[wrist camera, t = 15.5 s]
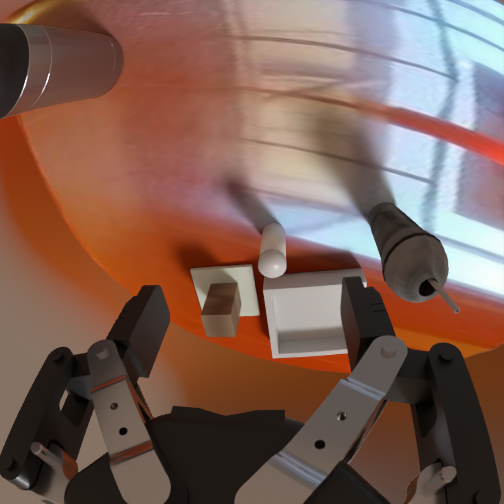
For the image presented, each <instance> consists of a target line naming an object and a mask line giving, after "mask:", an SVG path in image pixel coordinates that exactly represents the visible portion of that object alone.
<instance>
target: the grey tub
mask: <svg viewBox="0 0 504 504" xmlns="http://www.w3.org/2000/svg"><path fill="white" fill-rule="evenodd" d="M352 276H360V277H361V279H362V282H363V285H364V287H366V285H367V281H366V279H365V276H364V273H363V271H362V268H355V269H342V270H330V271H317V272H304V273H290V274H282V275H281V276H279V277H276V278H269V277H266V276H264V285H263V293H264V300H265V307H266V314H267V321H268V328H269V335H270V342H271V349H272V356H273V358H287V357H305V356H319V355H331V354H342V353H348V351H347V346H346V341H345V336H344V331H343V326H342V321H341V314H340V303H341V290H342V279H343V277H352Z"/></svg>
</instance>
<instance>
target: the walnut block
mask: <svg viewBox="0 0 504 504" xmlns="http://www.w3.org/2000/svg"><path fill="white" fill-rule="evenodd" d="M241 305H242V303H241V298H240V292H239V287H238V283H215V284H211V285H210V288H209V291H208V294H207V297H206V300H205V303H204V306H203V309H202V312H201V319H202V322H203V325H204V329H205V332H206V335H207V337H236V332H237V327H238V321H239V316H240V310H241Z"/></svg>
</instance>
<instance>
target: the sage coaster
mask: <svg viewBox="0 0 504 504" xmlns="http://www.w3.org/2000/svg"><path fill="white" fill-rule="evenodd" d="M190 271H191V275H192V278H193V282H194V285H195V289H196V292H197V296H198V299H199V302H200V306H201V309H203V306H204V303H205V300H206V297H207V294H208V291H209V288H210V285H211V284H215V283H238V287H239V292H240V298H241V303H242V305H241V310H240V316H255V315H260V310H259V303H258V297H257V291H256V285H255V279H254V273H253V266H252V264H247V265H232V266H218V267H202V268H191V270H190Z"/></svg>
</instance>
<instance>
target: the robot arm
mask: <svg viewBox="0 0 504 504" xmlns="http://www.w3.org/2000/svg"><path fill="white" fill-rule="evenodd" d="M122 64H123V54H122V50H121V47H120V45H119V43H118V42H117V41H116V40H115V39H114V38H113V37H111V36H109V35H106V34H101V33H96V32H91V31H85V30H78V29H71V28H64V27H55V26H45V25H30V24H0V119H2V118H6V117H9V116H13V115H16V114H20V113H23V112H27V111H31V110H35V109H39V108H43V107H48V106H52V105H57V104H62V103H67V102H72V101H79V100H84V99H90V98H96V97H99V96H101V95H103V94H105V93H106V92H107V91H109V90H110V89H111V88H112V87H113V85H114V84H115V83H116V81H117V79H118V77H119V76H120V73H121V70H122ZM340 314H341V321H342V326H343V331H344V336H345V341H346V346H347V351H348V357H349V362H350V367H351V374H350V376H349V377H348V378H347V379H345V378H343V379H342V380H340V382H339V383H338V384H337V385H336V387H335V388H334V389H333V391H332V392H331V393H330V395H329V396H328V397H327V398H326V400H325V401H324V402H323V403H322V405H321V406H320V407H319V408H318V409H317V411H316V412H315V413H314V414H313V416H312V417H311V418H310V419H309V420H308V422H307V423H306V424H303V423H302V422H299V421H297V420H294V419H290V418H285V410H255V411H250V412H245V413H240V414H235V415H229V416H224V415H220V414H217V413H213V412H210V411H206V410H203V409H200V408H191V407H180V406H173V407H172V411H171V413H170V414H165V415H161V416H158V417H156V418H154V417H153V415H152V413H151V411H150V409H149V407H148V404H147V402H146V400H145V398H144V396H143V393H142V391H141V389H140V386H139V384H138V383H137V381H138V378H139V377H145V378H148V377H149V375H150V372H151V370H152V367H153V364H154V362H155V359H156V356H157V354H158V351H159V349H160V346H161V343H162V341H163V338H164V336H165V333H166V330H167V328H168V325H169V322H170V312H169V309H168V306H167V303H166V300H165V297H164V294H163V291H162V288H161V287H160V286H159V285H144V286H142V288H141V290H140V291H139V293H138V295H137V296H134V297H132V299H131V300H129V301H128V302H127V303H126V304H125V306H124V308H123V310H122V312H121V313H120V315H119V317H118V319H117V320H116V322H115V323H114V325H113V327H112V329H111V331H110V332H109V334H108V336H107V338H106V340H100V341H98V342H96V343H94V344H93V345H92V346H91V347H90V348H89V350H88V352H87V353H83V354H77V355H73V354H72V352H71V350H70V349H69V348H67V347H59V348H57V349H55V350H53V351H52V352H51V353H50V354H49V355H48V357H47V359H46V360H45V362H44V364H43V366H42V368H41V370H40V371H39V373H38V375H37V377H36V379H35V381H34V383H33V385H32V387H31V389H30V390H29V393H28V394H27V397H26V398H25V401H24V403H23V405H22V407H21V409H20V411H19V413H18V415H17V417H16V420H15V422H14V424H13V426H12V428H11V431H10V433H9V435H8V438H7V440H6V442H5V445H4V447H3V450H2V452H1V455H0V474H1V476H2V477H3V478H5V479H6V480H8V481H9V482H11V483H12V484H14V485H15V486H16V487H18V488H19V489H21V490H22V491H24V492H25V493H27V494H29V495H30V496H32V497H34V498H36V499H38V500H41V501H43V502H45V503H46V504H391V503H390V502H389V501H387V499H386V498H385V497H383V496H382V495H381V494H380V493H379V492H378V491H377V490H376V489H374V488H373V487H372V486H371V485H370V484H369V483H368V482H367V481H366V480H365V479H364V478H363V477H362V476H361V475H359V474H358V473H357V472H356V471H355V470H354V469H353V468H352V467H351V466H350V465H349V463H350V462H351V460H352V459H353V458H354V456H355V455H356V453H357V452H358V450H359V449H360V447H361V446H362V444H363V442H364V441H365V439H366V437H367V436H368V434H369V432H370V431H371V429H372V428H373V426H374V424H375V423H376V421H377V420H378V418H379V416H380V415H381V413H382V411H383V410H384V408H385V406H386V404H387V403H388V401H394V402H402V403H409V404H410V407H411V412H412V417H413V423H414V429H415V435H416V441H417V448H418V455H419V463H420V471H421V473H420V474H418V475H417V477H415V478H414V479H413V480H412V481H411V482H410V484H409V486H408V488H407V491H406V498H405V502H404V504H499V502H500V497H501V490H500V484H499V478H498V473H497V468H496V463H495V459H494V454H493V450H492V446H491V442H490V438H489V434H488V431H487V427H486V424H485V420H484V417H483V413H482V410H481V407H480V404H479V400H478V398H477V394H476V392H475V389H474V386H473V383H472V380H471V377H470V374H469V372H468V369H467V367H466V364H465V361H464V359H463V356H462V354H461V352H460V350H459V349H458V348H457V347H455V346H454V345H452V344H449V343H437V344H435V345H433V346H432V347H431V349H430V351H429V352H428V351H420V350H413V349H410V348H407V346H406V344H405V343H404V342H403V341H402V340H401V339H399V338H397V337H396V335H395V332H394V329H393V326H392V324H391V321H390V318H389V316H388V313H387V311H386V308H385V305H384V304H383V300H382V297H381V295H380V293H379V292H377V291H376V290H375V289H374V288H373V287H364V285H363V282H362V279H361V277H360V276H352V277H343V279H342V290H341V303H340ZM65 390H66V391H67V392H68V393H69V394H68V396H67V398H66V401H65V403H64V405H63V408H62V410H61V411H60V407H59V403H60V400H61V398H62V396H63V393H64V391H65ZM94 408H95V412H96V415H97V418H98V422H99V425H100V429H101V432H102V435H103V438H104V441H105V444H106V447H107V450H108V452H107V453H105V454H104V455H103V456H101V457H100V458H99V459H97V460H96V461H94V462H93V463H92V464H90V465H89V466H88V467H86V468H84V469H83V470H82V471H80V472H78V465H77V462H76V460H77V457H78V454H79V450H80V447H81V444H82V441H83V438H84V435H85V432H86V429H87V427H88V424H89V421H90V418H91V415H92V413H93V410H94Z"/></svg>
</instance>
